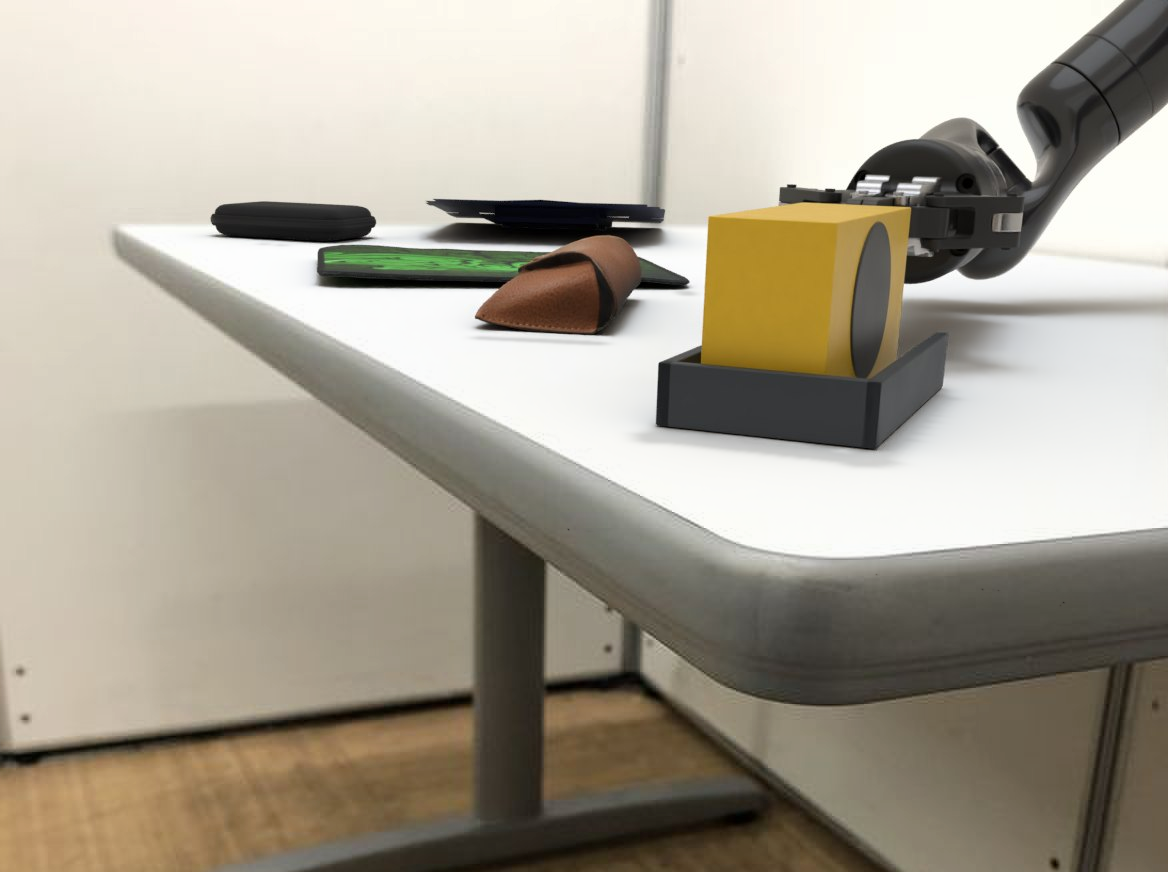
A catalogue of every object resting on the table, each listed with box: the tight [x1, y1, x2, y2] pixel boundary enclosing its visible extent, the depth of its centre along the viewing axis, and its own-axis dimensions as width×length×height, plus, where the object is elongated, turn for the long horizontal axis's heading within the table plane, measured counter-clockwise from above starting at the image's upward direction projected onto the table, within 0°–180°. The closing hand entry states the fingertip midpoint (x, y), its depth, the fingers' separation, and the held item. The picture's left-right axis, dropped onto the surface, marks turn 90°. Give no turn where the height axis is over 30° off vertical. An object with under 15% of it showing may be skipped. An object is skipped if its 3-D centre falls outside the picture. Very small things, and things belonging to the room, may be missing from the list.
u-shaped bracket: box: [655, 331, 949, 450], centre depth 60 cm, size 15×9×2 cm, turn 157°
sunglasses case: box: [474, 234, 642, 335], centre depth 87 cm, size 18×7×7 cm
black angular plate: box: [425, 198, 666, 239], centre depth 149 cm, size 24×30×4 cm
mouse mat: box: [316, 244, 691, 286], centre depth 110 cm, size 27×22×1 cm
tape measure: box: [701, 202, 911, 379], centre depth 59 cm, size 13×5×8 cm, turn 155°
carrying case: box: [209, 200, 377, 242], centre depth 139 cm, size 11×3×15 cm
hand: (858, 225), depth 64 cm, fingers closed
